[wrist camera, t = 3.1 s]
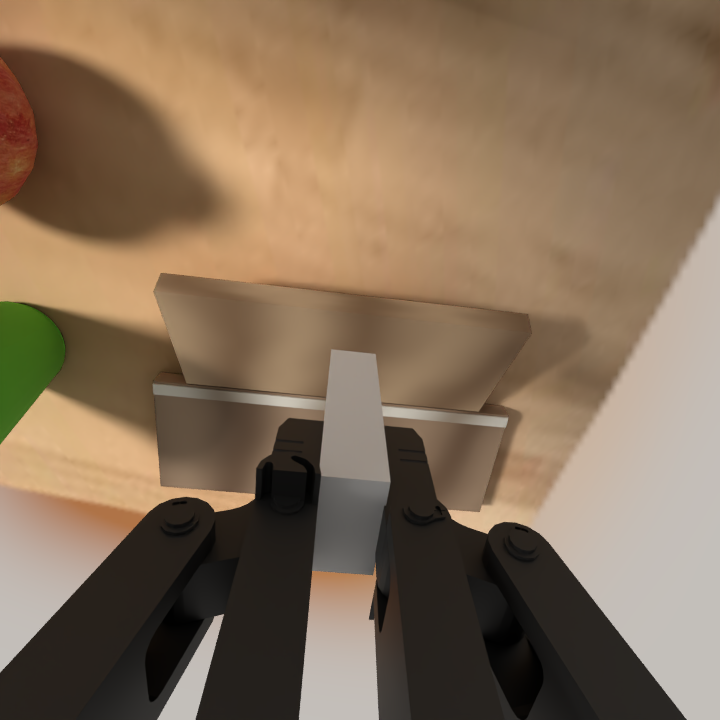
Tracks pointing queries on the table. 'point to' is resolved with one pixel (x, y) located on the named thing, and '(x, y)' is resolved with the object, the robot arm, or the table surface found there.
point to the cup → (25, 360)
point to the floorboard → (271, 409)
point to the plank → (336, 340)
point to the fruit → (14, 135)
